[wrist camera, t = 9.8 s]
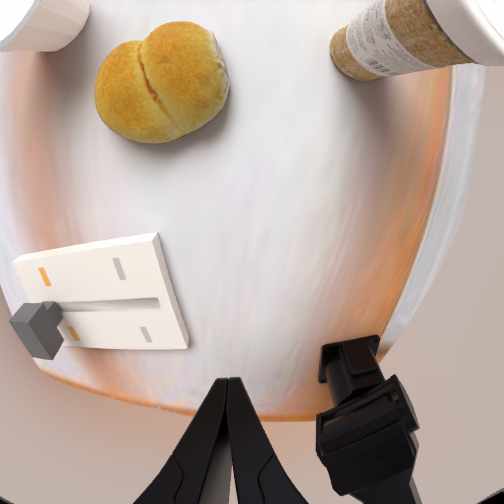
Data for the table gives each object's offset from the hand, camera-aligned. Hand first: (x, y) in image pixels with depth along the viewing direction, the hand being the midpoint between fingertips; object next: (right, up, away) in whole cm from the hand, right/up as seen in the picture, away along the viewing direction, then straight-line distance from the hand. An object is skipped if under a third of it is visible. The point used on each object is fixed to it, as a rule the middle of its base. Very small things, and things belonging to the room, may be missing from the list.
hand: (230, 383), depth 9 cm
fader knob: (-19, -1, +12) cm, 23 cm away
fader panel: (-14, 0, +14) cm, 20 cm away
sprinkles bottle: (+8, +19, +6) cm, 21 cm away
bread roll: (-5, +16, +7) cm, 18 cm away
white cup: (-15, +23, +3) cm, 28 cm away
